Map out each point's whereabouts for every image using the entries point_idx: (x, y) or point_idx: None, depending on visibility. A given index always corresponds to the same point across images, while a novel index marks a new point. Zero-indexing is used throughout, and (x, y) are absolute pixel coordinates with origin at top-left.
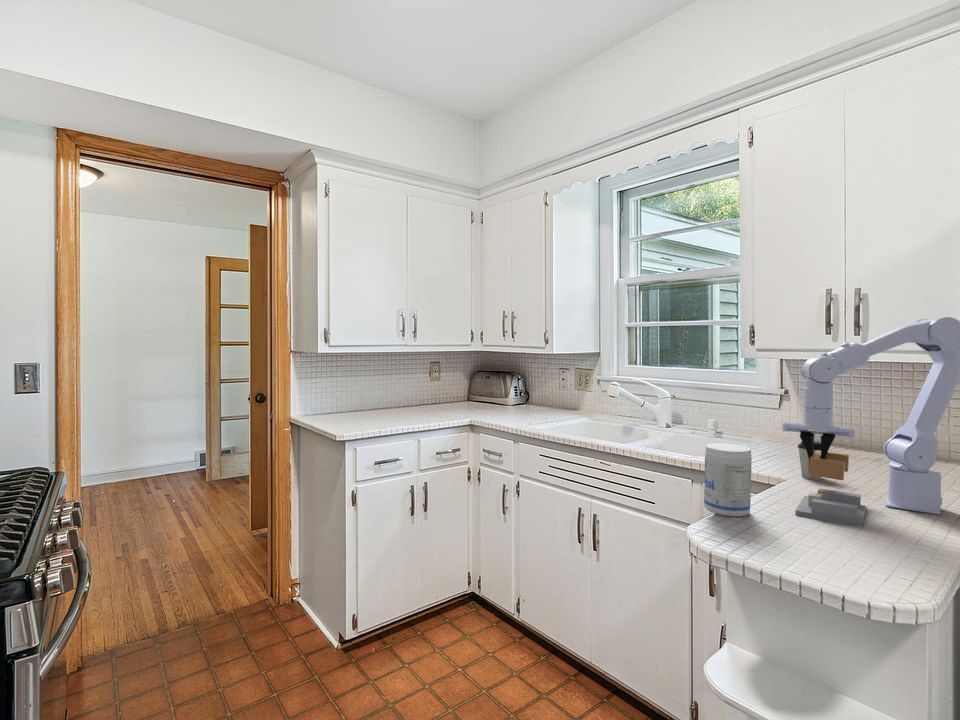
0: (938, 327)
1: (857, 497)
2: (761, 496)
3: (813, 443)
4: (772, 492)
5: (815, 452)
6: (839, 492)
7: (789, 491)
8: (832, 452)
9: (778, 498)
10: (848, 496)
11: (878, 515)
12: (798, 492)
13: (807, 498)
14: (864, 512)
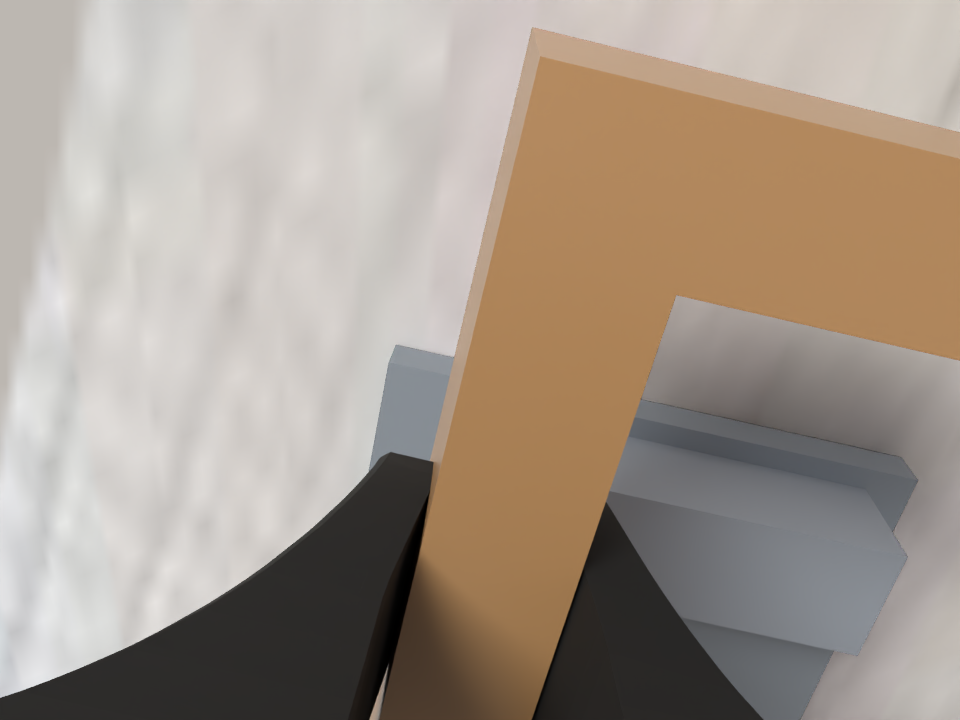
0: None
1: (834, 643)
2: (22, 371)
3: (352, 713)
4: (87, 153)
5: (454, 464)
6: (699, 559)
7: (252, 3)
8: (924, 202)
9: (170, 377)
10: (757, 626)
11: (946, 573)
12: (350, 4)
13: (412, 442)
14: (815, 687)
